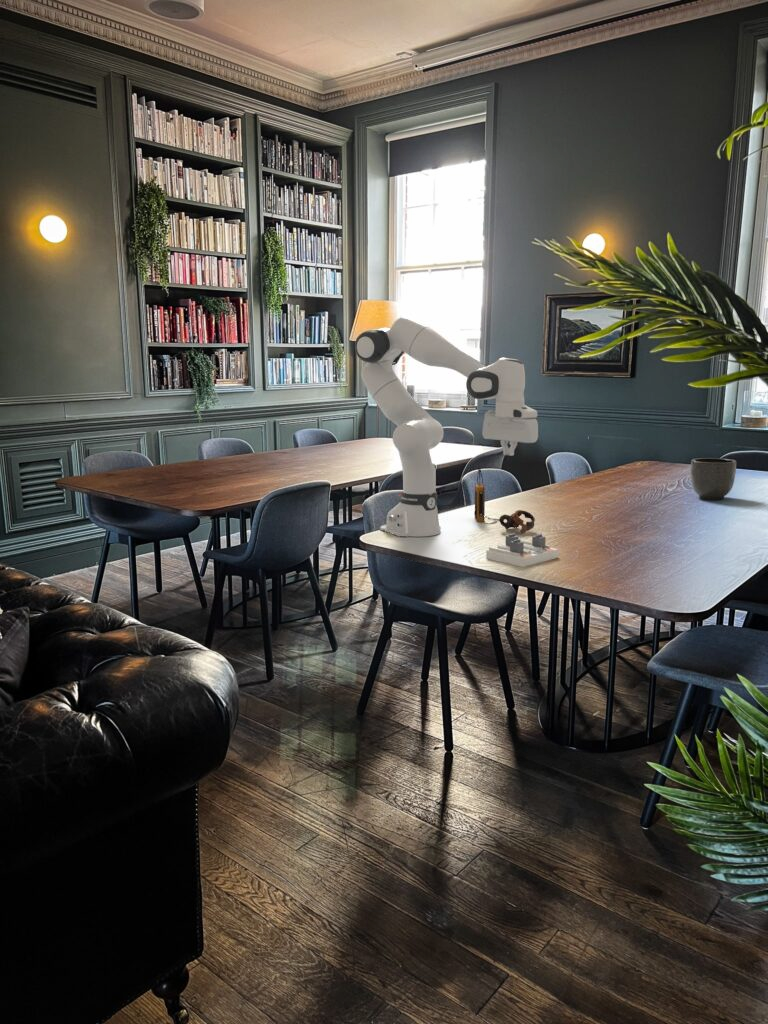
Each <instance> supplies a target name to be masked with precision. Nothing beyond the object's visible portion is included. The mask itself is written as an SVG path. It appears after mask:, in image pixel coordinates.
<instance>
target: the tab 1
mask: <svg viewBox="0 0 768 1024" xmlns="http://www.w3.org/2000/svg"><path fill="white" fill-rule="evenodd" d="M520 540H521V539H520V538H519V539H517V540H513V541H511V542H510V551H511V552H516V553H520V554H523V546H524V542H520Z"/></svg>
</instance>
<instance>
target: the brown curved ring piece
mask: <svg viewBox="0 0 768 1024" xmlns="http://www.w3.org/2000/svg"><path fill="white" fill-rule="evenodd" d="M522 515H523V516H524V518H525V519H530V521H526V522H525V523H526V524H525V523H524V519H522V518H521V517H522ZM498 519H499V521H498V522H499V523H500V525H501V526H502V527H504V528H505V530H506V531H508V530H509V529H510V528H512V529H513V528H514V529H518V528H519V527H520V526H521V529H520V531H519V533H520V534H522V533H524V534H525V533H526V532H529V531H530V530H532V529H534V527H535V521H536V519H535V516H534V515H532V513H530V512H528V511H527V510H523V509H518V510H516V511H515V512H514V513H512V514H510V515H509V514H502V515H501V516H500V517H499V518H498ZM505 521H506V522H505ZM515 527H516V528H515ZM517 527H518V528H517Z"/></svg>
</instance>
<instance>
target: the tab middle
mask: <svg viewBox="0 0 768 1024" xmlns="http://www.w3.org/2000/svg"><path fill="white" fill-rule="evenodd" d="M517 539H520V536H518V535H517V534H516V533H515V532H513V533H509V534H507V535H505V545H508V546H510V542H511V541H513V540H517Z"/></svg>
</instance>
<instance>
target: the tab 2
mask: <svg viewBox="0 0 768 1024" xmlns="http://www.w3.org/2000/svg"><path fill="white" fill-rule="evenodd" d="M531 538H532V539H531V542H532V546H536V547H541V548H545V545H546V536H543V533H539V534H535V535H533V536H532V537H531Z"/></svg>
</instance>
